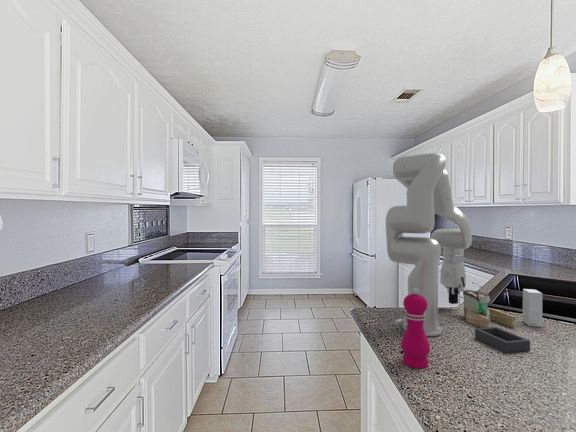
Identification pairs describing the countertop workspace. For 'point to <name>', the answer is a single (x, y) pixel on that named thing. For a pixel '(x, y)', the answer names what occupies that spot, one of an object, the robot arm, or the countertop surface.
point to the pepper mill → (415, 332)
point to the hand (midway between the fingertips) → (453, 303)
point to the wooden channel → (490, 318)
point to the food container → (475, 302)
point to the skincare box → (532, 307)
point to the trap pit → (502, 339)
